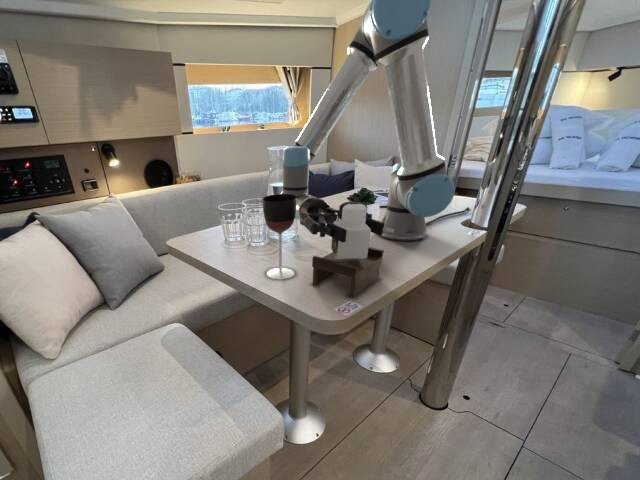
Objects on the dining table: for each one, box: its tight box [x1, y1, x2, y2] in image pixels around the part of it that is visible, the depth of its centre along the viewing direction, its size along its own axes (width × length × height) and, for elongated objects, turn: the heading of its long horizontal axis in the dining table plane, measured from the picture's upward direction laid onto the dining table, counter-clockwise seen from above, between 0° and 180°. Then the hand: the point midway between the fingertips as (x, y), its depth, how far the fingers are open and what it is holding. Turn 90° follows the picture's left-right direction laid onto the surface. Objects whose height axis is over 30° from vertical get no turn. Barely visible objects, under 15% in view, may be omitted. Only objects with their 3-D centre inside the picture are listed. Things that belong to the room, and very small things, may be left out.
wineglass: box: [261, 193, 297, 280], centre depth 81 cm, size 8×9×20 cm
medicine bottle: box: [330, 201, 372, 259], centre depth 73 cm, size 7×7×12 cm
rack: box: [311, 246, 385, 299], centre depth 78 cm, size 14×11×8 cm
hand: (363, 232), depth 69 cm, fingers closed on medicine bottle, 9 cm apart
